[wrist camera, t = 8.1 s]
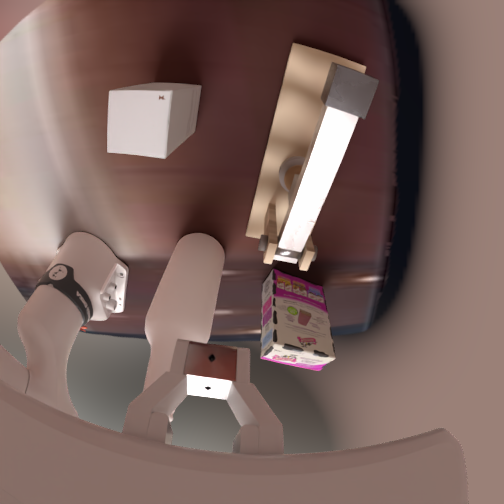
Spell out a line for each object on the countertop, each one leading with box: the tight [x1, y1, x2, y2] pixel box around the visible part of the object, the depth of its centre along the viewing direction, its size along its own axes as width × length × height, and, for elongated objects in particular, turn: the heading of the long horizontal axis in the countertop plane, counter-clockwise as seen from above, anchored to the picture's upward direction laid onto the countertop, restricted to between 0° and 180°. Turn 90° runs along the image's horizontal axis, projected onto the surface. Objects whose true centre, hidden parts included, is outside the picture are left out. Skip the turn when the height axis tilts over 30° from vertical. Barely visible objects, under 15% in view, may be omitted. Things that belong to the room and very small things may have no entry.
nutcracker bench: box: [246, 43, 366, 271], centre depth 32 cm, size 30×10×12 cm, turn 168°
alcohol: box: [143, 233, 225, 422], centre depth 36 cm, size 9×9×30 cm
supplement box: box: [107, 83, 202, 159], centre depth 28 cm, size 7×7×13 cm
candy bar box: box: [260, 269, 336, 371], centre depth 45 cm, size 11×5×16 cm, turn 66°
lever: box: [273, 62, 379, 264], centre depth 28 cm, size 24×4×5 cm, turn 169°
